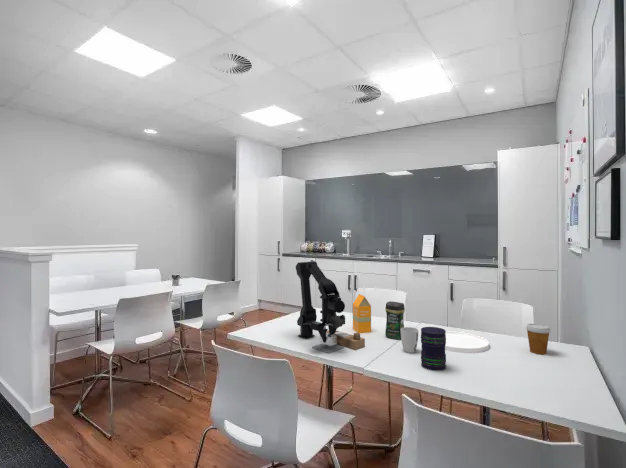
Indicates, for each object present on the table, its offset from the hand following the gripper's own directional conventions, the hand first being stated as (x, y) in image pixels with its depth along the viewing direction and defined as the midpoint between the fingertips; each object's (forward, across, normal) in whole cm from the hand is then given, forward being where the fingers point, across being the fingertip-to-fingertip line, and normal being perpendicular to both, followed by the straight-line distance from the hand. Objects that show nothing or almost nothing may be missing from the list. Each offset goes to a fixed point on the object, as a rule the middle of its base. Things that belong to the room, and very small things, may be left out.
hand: (328, 341), depth 169 cm
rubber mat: (+3, 0, 0) cm, 3 cm away
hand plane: (+3, +10, 0) cm, 11 cm away
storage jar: (+3, +16, -46) cm, 49 cm away
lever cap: (+1, 0, 0) cm, 1 cm away
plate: (+4, +52, -39) cm, 65 cm away
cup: (+3, +24, -29) cm, 38 cm away
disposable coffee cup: (+3, +66, -70) cm, 96 cm away
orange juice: (+3, +34, +8) cm, 36 cm away
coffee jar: (+3, +38, -12) cm, 40 cm away
